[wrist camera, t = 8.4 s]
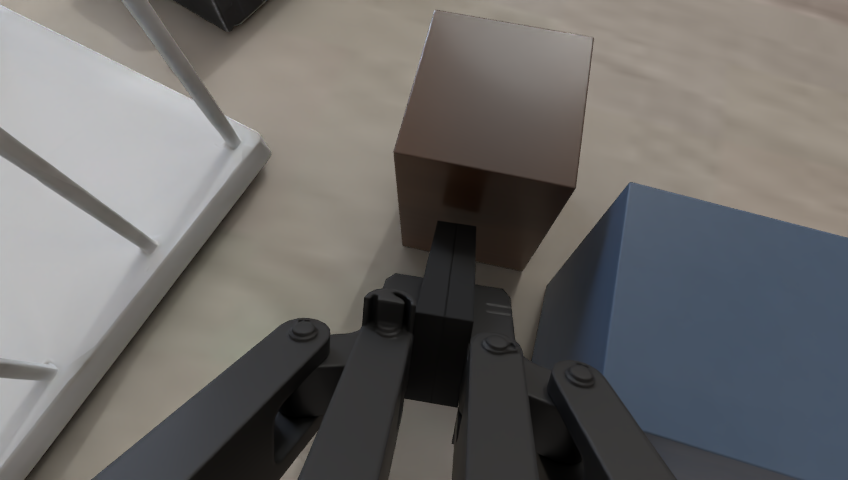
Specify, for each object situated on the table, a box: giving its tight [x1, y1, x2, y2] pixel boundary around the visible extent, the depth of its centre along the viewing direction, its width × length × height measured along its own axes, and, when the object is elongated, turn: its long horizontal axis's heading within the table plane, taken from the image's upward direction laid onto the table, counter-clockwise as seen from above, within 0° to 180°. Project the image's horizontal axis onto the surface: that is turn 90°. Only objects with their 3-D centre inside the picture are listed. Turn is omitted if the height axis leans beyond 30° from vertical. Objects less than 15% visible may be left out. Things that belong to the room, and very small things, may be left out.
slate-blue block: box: [531, 182, 848, 480], centre depth 16 cm, size 6×6×9 cm
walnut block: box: [394, 10, 594, 271], centre depth 19 cm, size 6×6×8 cm
